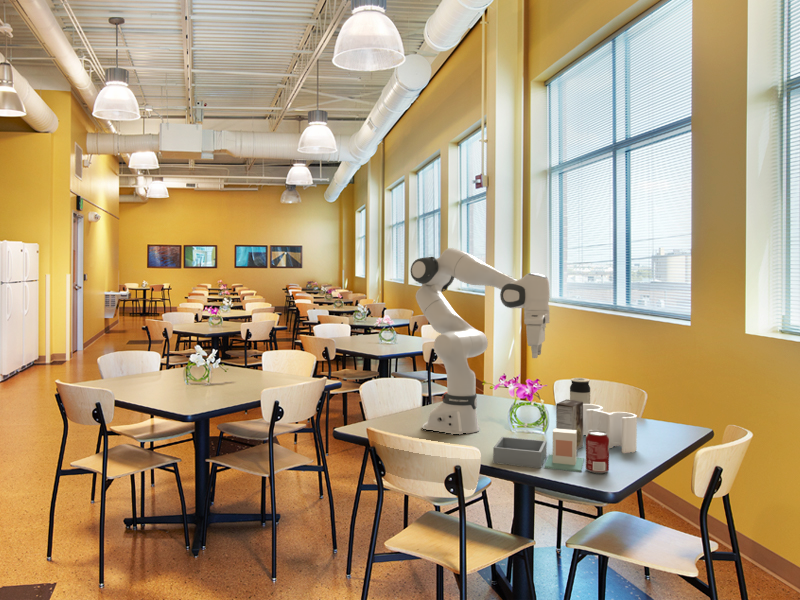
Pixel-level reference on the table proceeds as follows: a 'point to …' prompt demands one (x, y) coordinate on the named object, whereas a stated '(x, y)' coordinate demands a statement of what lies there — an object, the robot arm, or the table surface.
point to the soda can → (597, 452)
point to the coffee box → (570, 418)
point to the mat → (564, 465)
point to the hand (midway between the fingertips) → (536, 356)
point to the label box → (564, 446)
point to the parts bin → (520, 452)
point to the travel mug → (580, 390)
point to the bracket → (612, 426)
